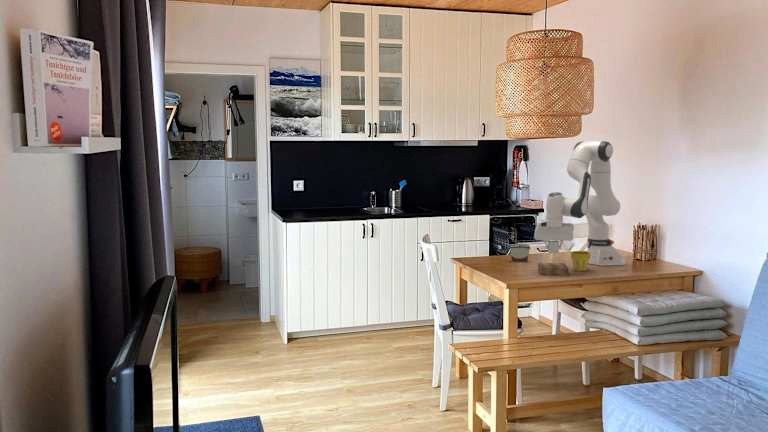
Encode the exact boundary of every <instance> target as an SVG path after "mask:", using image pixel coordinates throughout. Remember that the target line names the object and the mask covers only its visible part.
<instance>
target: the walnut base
mask: <svg viewBox="0 0 768 432" xmlns="http://www.w3.org/2000/svg"><path fill="white" fill-rule="evenodd" d="M537 271H538V273H539V274H540V276H557V275H562V277H563V276H565V277H567V276H569V267H568V266H567V265H566V263H564V262H538V263H537Z"/></svg>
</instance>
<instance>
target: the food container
mask: <svg viewBox="0 0 768 432" xmlns="http://www.w3.org/2000/svg"><path fill="white" fill-rule="evenodd" d="M508 249H510V250H509V251H510V260H511V261H510V262H511V263H529V257H530V256H529V255H530V254H529V253H530V250H531V246H530V244H525V243H514V244H510V245H509V247H508Z"/></svg>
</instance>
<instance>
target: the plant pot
mask: <svg viewBox="0 0 768 432" xmlns="http://www.w3.org/2000/svg"><path fill="white" fill-rule="evenodd" d="M570 259H571V260H572V266H573V270H574V271H577V272H587V269H588V265H589V263H588V262H589V259H590V252H587V251H585V250H584V251H583V250H575V251H573V250H572V251H571V252H570Z"/></svg>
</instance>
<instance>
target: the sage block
mask: <svg viewBox="0 0 768 432" xmlns="http://www.w3.org/2000/svg"><path fill="white" fill-rule="evenodd" d="M547 245H549V248H547V252H548V253H549V254H559V253H560V252H559V251H560V249H559V245H560V241H559V240H547Z"/></svg>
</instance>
